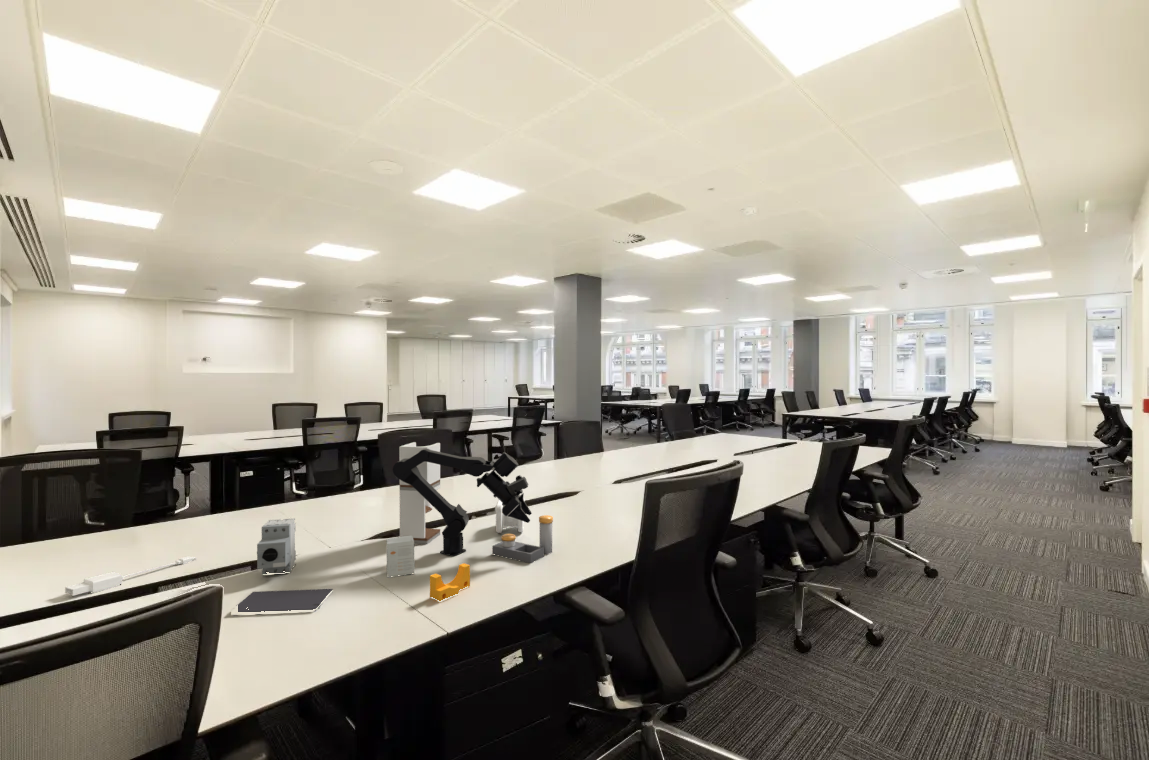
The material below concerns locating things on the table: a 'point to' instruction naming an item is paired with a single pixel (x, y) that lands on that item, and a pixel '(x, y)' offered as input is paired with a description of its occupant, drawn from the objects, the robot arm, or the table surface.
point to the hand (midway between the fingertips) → (530, 517)
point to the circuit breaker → (277, 546)
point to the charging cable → (111, 579)
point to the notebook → (283, 600)
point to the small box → (400, 556)
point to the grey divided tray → (517, 549)
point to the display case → (417, 497)
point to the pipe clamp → (451, 588)
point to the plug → (546, 533)
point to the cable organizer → (506, 520)
